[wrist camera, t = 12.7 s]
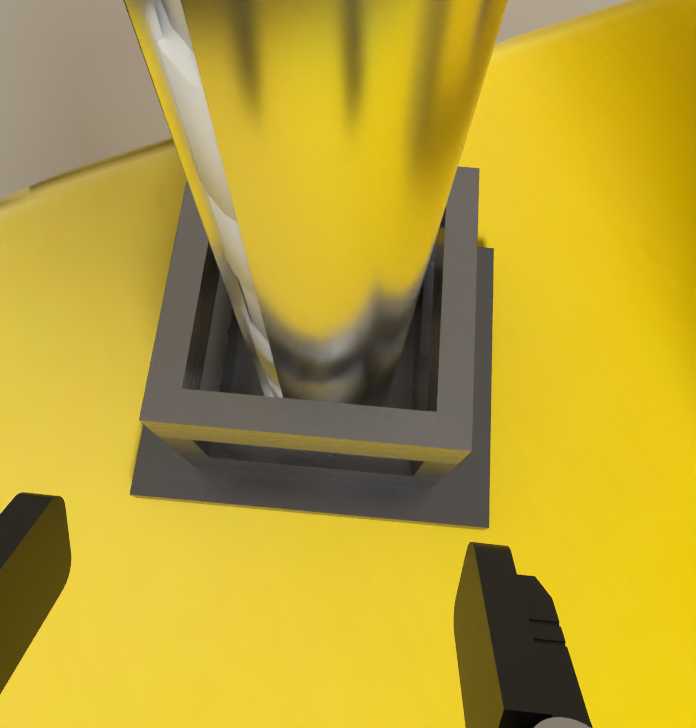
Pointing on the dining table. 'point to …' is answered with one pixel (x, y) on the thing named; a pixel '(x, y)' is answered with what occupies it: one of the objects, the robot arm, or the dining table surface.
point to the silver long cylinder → (320, 165)
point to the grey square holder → (326, 419)
